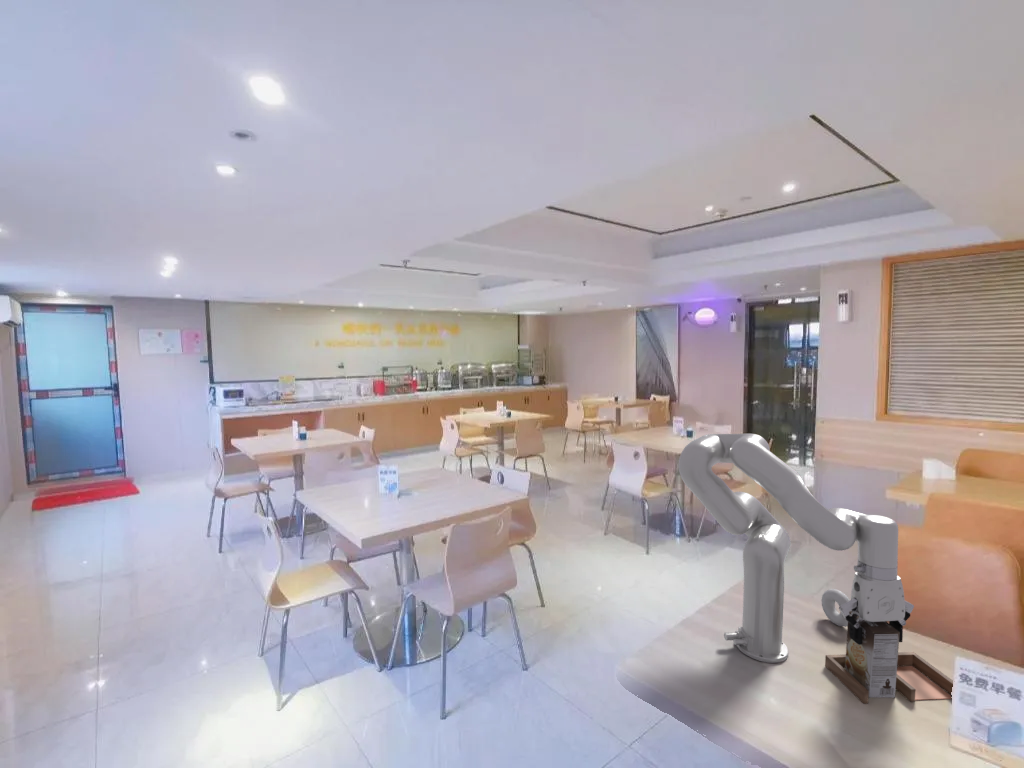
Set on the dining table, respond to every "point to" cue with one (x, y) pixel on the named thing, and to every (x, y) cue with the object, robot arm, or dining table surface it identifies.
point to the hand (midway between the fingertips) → (875, 640)
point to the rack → (899, 678)
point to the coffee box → (874, 658)
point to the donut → (829, 606)
